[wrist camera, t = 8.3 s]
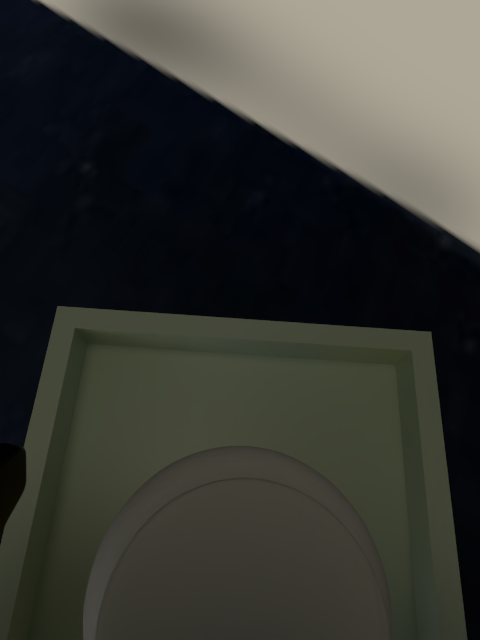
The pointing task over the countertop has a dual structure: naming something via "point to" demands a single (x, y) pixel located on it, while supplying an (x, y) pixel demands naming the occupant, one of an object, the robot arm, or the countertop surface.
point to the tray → (229, 430)
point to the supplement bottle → (237, 557)
